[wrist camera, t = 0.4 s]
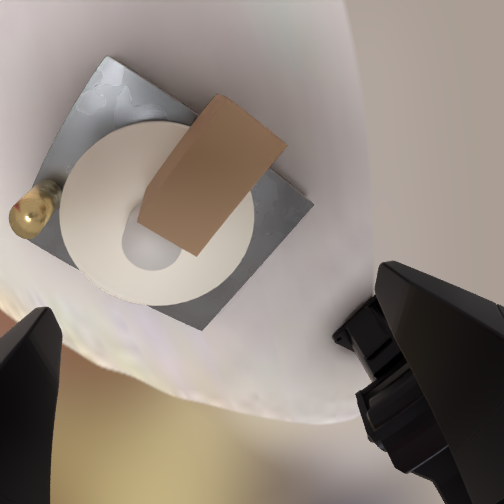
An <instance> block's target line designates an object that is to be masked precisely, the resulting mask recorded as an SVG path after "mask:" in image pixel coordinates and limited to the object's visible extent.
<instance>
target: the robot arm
mask: <svg viewBox="0 0 504 504" xmlns="http://www.w3.org/2000/svg"><path fill="white" fill-rule="evenodd" d="M333 340H334V342H335V343H337V344H339V345H341V346H343V347H345V348H347V349H349V350H352V351H354V352H355V353H356V355H357V356H358V358H359V360H360V362H361V363H362V365H363V367H364V368H365V370H366V372H367V374H368V375H369V377H370V379H371V381H372V383H371V384H369V385H368V386H367V387H365V388H364V389H363V390H360V391H358V392H357V393H356V394H355V395H356V398H357V404H358V407H359V410H360V413H361V416H362V419H363V423H364V426H365V429H366V432H367V436H368V439H369V441H370V442H373V443H375V444H376V445H377V446H378V447H379V448H380V449H381V450H383V451H385V452H388V454H389V457H390V458H391V461H392V463H393V465H394V467H395V468H396V469H398V470H400V471H401V472H403V473H405V474H408V473H410V472H411V473H414V474H416V475H418V476H420V477H423V478H425V479H427V480H430V481H432V482H433V484H434V485H435V487H436V488H437V490H438V492H439V494H440V495H441V497H442V499H443V501H444V503H445V504H504V307H503V306H501V305H499V304H497V305H496V303H494V302H492V301H489V300H487V299H485V298H483V297H480V296H478V295H476V294H474V293H471V292H469V291H466V290H464V289H462V288H459V287H457V286H454V285H452V284H450V283H447V282H445V281H443V280H440V279H438V278H436V277H433V276H431V275H428V274H426V273H423V272H421V271H418V270H416V269H414V268H411V267H409V266H406V265H404V264H401V263H399V262H396V261H387V262H382V263H381V264H380V265H379V268H378V273H377V279H376V284H375V295H374V296H373V297H372V298H371V299H370V300H369V301H368V302H367V303H366V304H365V305H364V306H363V307H362V308H361V309H360V310H359V311H358V312H357V313H356V314H355V315H354V316H353V317H352V318H351V319H350V320H349V321H348V322H347V323H346V324H345V325H344V326H343V327H342V328H341V329H340V330H339V331H338V332H337V333H336V334H335V335H334V336H333ZM61 349H62V331H61V328H60V326H59V324H58V322H57V320H56V318H55V316H54V314H53V312H52V310H51V309H50V308H49V307H38V308H35V309H34V310H33V311H32V312H30V313H29V314H28V315H27V316H26V317H24V318H23V319H22V320H21V321H20V322H18V323H17V324H16V325H15V326H14V327H13V328H11V329H10V330H9V331H8V332H7V333H6V334H4V335H3V336H2V337H1V338H0V504H50V474H51V453H52V440H53V429H54V420H55V411H56V403H57V396H58V388H59V377H60V361H61Z"/></svg>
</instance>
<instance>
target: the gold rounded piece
mask: <svg viewBox="0 0 504 504" xmlns="http://www.w3.org/2000/svg"><path fill="white" fill-rule="evenodd" d="M61 196H62V191H61V189H60V187H59V186H58V184H56V183H55V182H54V181H52V180H42V181H40V182H39V183H38V184H36V185H35V186H34V187H33V188H32V189H31V190H30V191H29V192H28V193H27V194H26V195H25V196H23V197H22V198H21V199H20V200H19V201H18V202H17V203H16V204H15V205H14V206H13V207H12V209H11V210H10V213H9V222H10V226H11V228H12V230H13V231H14V232H15V233H16V234H17V235H18V236H19V237H21V238H24V239H32V238H35V237H36V236H37V235H38V234H39V233H40V231H41V230H42V229H43V227H44V226H45V225H46V223H47V222H48V221H49V219H50V218H51V217H52V215H53V214H54V213H55V211H56V210H57V209H58V208H59V206H60V201H61Z"/></svg>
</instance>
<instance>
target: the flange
mask: <svg viewBox="0 0 504 504" xmlns="http://www.w3.org/2000/svg"><path fill="white" fill-rule="evenodd" d="M287 146H288V145H287V144H285V143H284V142H283V141H282V140H281V139H279V138H278V137H277V136H276V135H274V134H273V133H272V132H271V131H270V130H268V129H267V128H266V127H265V126H263V125H262V124H261V123H260V122H258V121H257V120H256V119H255V118H253V117H252V116H251V115H250V114H248V113H247V112H246V111H244V110H243V109H242V108H241V107H239V106H238V105H237V104H235V103H234V102H233V101H231V100H230V99H229V98H227V97H224V96H222V95H219V94H216V95H215V97H214V98H213V99H212V100H211V101H210V103H209V104H208V105H207V106H206V108H205V109H204V110H203V111H202V113H201V114H200V115H199V116H198V118H197V119H196V120H195V122H194V123H193V124H192V125H191V127H190V126H187V125H184V124H180V123H176V122H169V121H145V122H139V123H134V124H131V125H127V126H124V127H122V128H119V129H117V130H115V131H113V132H111V133H109V134H108V135H106V136H105V137H103V138H102V139H100V140H99V141H98V142H96V143H95V144H94V145H93V146H92V147H91V148H90V149H88V150H87V151H86V152H85V153H84V154H83V155H82V157H81V158H80V159H79V160H78V161H77V163H76V164H75V166H74V167H73V169H72V170H71V172H70V174H69V176H68V178H67V180H66V183H65V185H64V188H63V192H62V196H61V201H60V209H59V215H60V227H61V233H62V237H63V240H64V243H65V246H66V248H67V251H68V253H69V255H70V257H71V258H72V260H73V261H74V263H75V265H76V266H77V267H78V269H79V270H80V271H81V272H82V273H83V274H84V275H85V276H86V277H87V278H88V279H89V280H90V281H91V282H92V283H93V284H95V285H96V286H97V287H99V288H100V289H102V290H103V291H105V292H107V293H108V294H110V295H112V296H115V297H117V298H119V299H122V300H125V301H128V302H131V303H136V304H141V305H151V306H163V305H172V304H178V303H182V302H187V301H189V300H192V299H195V298H198V297H200V296H202V295H204V294H206V293H208V292H209V291H211V290H213V289H214V288H216V287H217V286H218V285H220V284H221V283H222V282H223V281H225V280H226V279H227V278H228V277H229V276H230V275H231V274H232V273H233V271H234V270H235V269H236V267H237V266H238V265H239V263H240V262H241V260H242V258H243V257H244V255H245V253H246V251H247V248H248V246H249V244H250V240H251V237H252V233H253V226H254V205H253V199H252V194H251V191H250V190H251V189H252V188H253V186H254V185H255V184H256V183H257V182H258V180H259V179H260V178H261V177H262V176H263V174H264V173H265V172H266V171H267V170H268V168H269V167H270V166H271V165H272V164H273V162H274V161H275V160H276V159H277V158H278V157H279V155H280V154H281V153H282V152H283V151H284V149H285V148H286V147H287Z"/></svg>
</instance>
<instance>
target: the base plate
mask: <svg viewBox="0 0 504 504" xmlns="http://www.w3.org/2000/svg"><path fill="white" fill-rule="evenodd" d="M198 116H199V114H197V113H196V112H195V111H193V110H192V109H190V108H189V107H187V106H186V105H185V104H183V103H182V102H180V101H179V100H177V99H176V98H174V97H173V96H171V95H170V94H168V93H167V92H165V91H164V90H162V89H161V88H159V87H158V86H156V85H155V84H153V83H152V82H150V81H149V80H147V79H146V78H144V77H143V76H141V75H139V74H138V73H136V72H135V71H133V70H132V69H130V68H128V67H127V66H125V65H124V64H122V63H120V62H119V61H117V60H116V59H114V58H112V57H109V56H106V57H105V58H104V60H103V61H102V63H101V64H100V65H99V67H98V68H97V70H96V71H95V73H94V74H93V76H92V77H91V79H90V80H89V82H88V83H87V85H86V86H85V88H84V90H83V91H82V93H81V94H80V96H79V98H78V99H77V101H76V102H75V104H74V106H73V108H72V109H71V111H70V113H69V114H68V116H67V118H66V120H65V121H64V123H63V125H62V127H61V129H60V131H59V132H58V134H57V136H56V138H55V140H54V142H53V144H52V146H51V148H50V150H49V152H48V154H47V156H46V158H45V160H44V162H43V164H42V166H41V168H40V171H39V173H38V175H37V177H36V180H35V182H34V184H33V186H32V188H33V187H34V186H35V185H36V184H38V183H39V182H40V181H42V180H52V181H54V182H55V183H56V184H58V186H59V187H60V189H61V191H62V192H63V188H64V185H65V183H66V180H67V178H68V176H69V174H70V172H71V170H72V169H73V167H74V166H75V164H76V163H77V161H78V160H79V159H80V158H81V157H82V155H83V154H84V153H85V152H86V151H87V150H88V149H90V148H91V147H92V146H93V145H94V144H95V143H96V142H98V141H99V140H100V139H102V138H103V137H105V136H106V135H108V134H109V133H111V132H113V131H115V130H117V129H119V128H122V127H124V126H127V125H131V124H134V123H139V122H145V121H169V122H176V123H180V124H184V125H187V126H190V127H191V125H192V124H193V123H194V122H195V120H196V119H197V118H198ZM250 191H251V194H252V199H253V205H254V226H253V233H252V237H251V240H250V244H249V246H248V248H247V251H246V253H245V255H244V257H243V258H242V260H241V262H240V263H239V265H238V266H237V267H236V269H235V270H234V271H233V273H232V274H231V275H230V276H229V277H228V278H227V279H226V280H225V281H223V282H222V283H221V284H220V285H218V286H217V287H216V288H214V289H213V290H211V291H209V292H208V293H206V294H204V295H202V296H200V297H198V298H195V299H192V300H189V301H187V302H182V303H178V304H172V305H163V306H151V305H147V306H149V307H151V308H153V309H155V310H158V311H160V312H162V313H164V314H166V315H168V316H170V317H172V318H174V319H177V320H179V321H181V322H183V323H185V324H188V325H190V326H192V327H194V328H196V329H199V330H201V331H202V330H203V329H204V328H205V327H206V326H207V325H208V324H209V323H210V321H211V320H212V319H213V318H214V317H215V316H216V315H217V314H218V313H219V311H220V310H221V309H222V308H223V307H224V306H225V305H226V304H227V303H228V301H229V300H230V299H231V298H232V297H233V296H234V295H235V294H236V292H237V291H238V290H239V289H240V288H241V287H242V286H243V285H244V284H245V282H246V281H247V280H248V279H249V278H250V277H251V276H252V275H253V273H254V272H255V271H256V270H257V269H258V268H259V267H260V266H261V264H262V263H263V262H264V261H265V260H266V259H267V258H268V257H269V255H270V254H271V253H272V252H273V251H274V250H275V249H276V247H277V246H278V245H279V244H280V243H281V242H282V241H283V240H284V238H285V237H286V236H287V235H288V234H289V233H290V232H291V230H292V229H293V228H294V227H295V226H296V225H297V224H298V223H299V221H300V220H301V219H302V218H303V217H304V216H305V215H306V213H307V212H308V211H309V210H310V209H311V208H312V207H313V205H314V204H313V203H312V202H311V201H310V200H309V199H308V198H307V197H306V196H305V195H304V194H303V193H301V192H300V191H299V190H298V189H296V188H295V187H294V186H293V185H291V184H290V183H289V182H288V181H286V180H285V179H284V178H283V177H281V176H280V175H279V174H278V173H276V172H275V171H274V170H273V169H271V168H270V167H269V168H268V170H267V171H266V172H265V173H264V174H263V176H262V177H261V178H260V179H259V180H258V182H257V183H256V184H255V185H254V186H253V188H252V189H251V190H250ZM59 209H60V206H59V208H58V209H57V210H56V211H55V213H54V214H53V215H52V217H51V218H50V219H49V221H48V222H47V223H46V225H45V226H44V227H43V229H42V230H41V231H40V233H39V234H38V235H37V236H36V237H35V238H32V239H27V240H29V241H30V242H32V243H34V244H35V245H37V246H39V247H40V248H42V249H44V250H45V251H47V252H49V253H50V254H52V255H54V256H56V257H57V258H59V259H61V260H62V261H64V262H66V263H68V264H69V265H71V266H73V267H75V268H77V269H78V267H77V266H76V265H75V263H74V261H73V260H72V258H71V257H70V255H69V253H68V251H67V248H66V246H65V243H64V240H63V237H62V233H61V227H60V215H59ZM78 270H79V269H78Z"/></svg>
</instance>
